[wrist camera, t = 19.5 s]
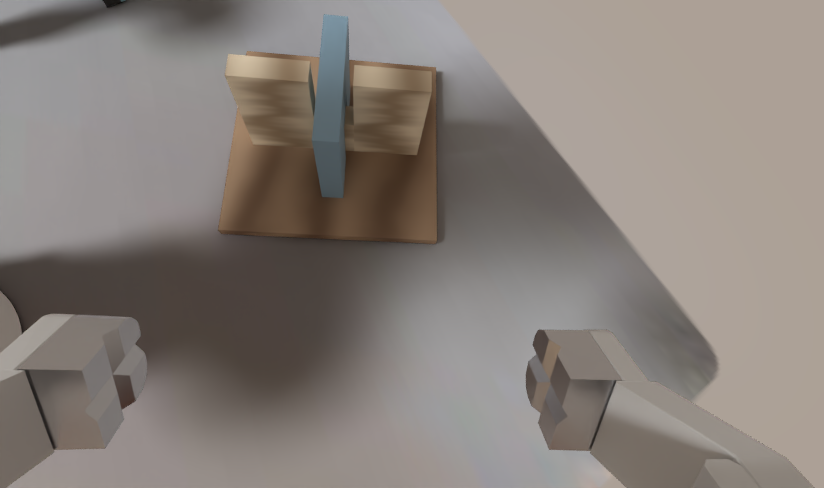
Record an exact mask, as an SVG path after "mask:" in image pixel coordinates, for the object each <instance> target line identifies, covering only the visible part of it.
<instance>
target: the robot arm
mask: <svg viewBox="0 0 824 488" xmlns="http://www.w3.org/2000/svg"><path fill="white" fill-rule="evenodd" d="M140 336H141V332H140V328H139V324H138V321H137V320H135V319H134V318H132V317H118V316H97V315H75V314H49V315H45V316H42V317H41V318H40V319H39V320H38V321H37V322H35V323H34V324H33V325H32V326H31V327H30V328H29V329H27V330H26V331H25V332H24V333H23V334H22V331H21V325H20V321H19V318H18V315H17V313H16V311H15V309H14V307H13V305H12V304H11V302H10V301H9V300H8V298H7V297H6V296H5V295H4V294H3V293H2V292H1V291H0V488H6V487H8V486H9V485H10V484H12V483H13V482H14V481H16V480H17V479H19V478H20V477H21V476H23V475H24V474H25V473H27V472H28V471H29V470H31V469H32V468H34V467H35V466H36V465H38V464H39V463H40V462H42V461H43V460H44V459H46V458H47V457H49V456H50V455H51V454H53V453H54V450H68V449H105V448H106V447H107V445H108V444H109V442H110V441H111V439H112V437H113V436H114V434H115V433H116V431H117V430H118V428H119V427H120V425H121V423H122V422H123V420H124V417H123V413H122V409H124V408H125V407H127V406H129V405H130V404H132V403H133V402H135V401H136V400H137V398H138V396H139V395H140V393H141V391H142V390H143V387H144V383H145V380H146V376H147V360H146V355H145V353H144V352H143V351H142V350H141V349H140V348H139V347H138V346H137V345H136V344H135V343H136V342H137V340H138V339H139V337H140ZM533 347H534V349H535V351H536V355H535V356H534V357H533V358H532V359H531V360H530V361H528V366H527V371H526V390H527V394H528V398H529V401H530V403H531V406H532V407H533V408H535V409H536V410H537V411H538V412H540V413H541V414H540V418H539V422H538V424H539V426H540V428H541V431H542V433H543V436H544V438H545V441H546V443H547V446H548V448H549V450H577V451H591V452H590V453H591V454H592V455H593V456H594V457H595V458H596V459H597V460H598V461H599V462H600V463H601V464H602V465H603V466H604V467H605V468H606V469H607V470H608V471H609V472H611V473H612V474H613V475H614V476H615V477H616V478H617V479H618V480H619V481H620V482H621V483H622V484H623V485H624V486H625V487H627V488H814V487H813V486H812V485H811V484H810V483H809V481H808V480H807V479H806V478H805V477H804V476H803V475H802V474H801V473H800V472H799V471H798V470H797V469H796V467H794V465H793V464H792V463H791V462H790V461H789V460H788V459H787V458H786V457H784V456H783V455H781V454H779V453H777V452H776V451H774V450H772V449H771V448H769V447H767V446H765V445H764V444H762V443H760V442H759V441H757V440H755V439H753V438H752V437H750V436H748V435H747V434H745V433H743V432H742V431H740V430H738V429H736V428H734V427H733V426H731V425H729V424H728V423H726V422H724V421H723V420H721V419H719V418H718V417H716V416H714V415H712V414H711V413H709V412H707V411H706V410H704V409H702V408H701V407H699V406H697V405H695V404H694V403H692V402H690V401H689V400H687V399H685V398H683V397H682V396H680V395H678V394H677V393H675V392H673V391H671V390H670V389H668V388H666V387H665V386H663V385H661V384H660V383H658V382H649V381H648V379H647V378H646V377H645V375H644V374H643V373H642V371H641V370H640V369H639V367H638V366H637V365H636V363H635V362H634V361H633V360H632V358H631V357H630V356H629V354H628V353H627V352H626V350H625V349H624V348H623V346H622V345H621V344H620V342H619V341H618V340H617V338H616V337H615V336H614V334H613V333H612V332H610V331H608V330H538V331H537V333H536V335H535V338H534V341H533Z"/></svg>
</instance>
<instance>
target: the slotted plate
mask: <svg viewBox="0 0 824 488" xmlns="http://www.w3.org/2000/svg"><path fill="white" fill-rule="evenodd" d="M349 104H350V67H349V32H348V17H346V16H335V15H325V14H324V17H323V28H322V38H321V49H320V59H319V70H318V80H317V91H316V101H315V112H314V122H313V133H312V144H313V150H314V155H315V161H316V166H317V172H318V177H319V183H320V188H321V194H322V197H332V198H343V195H344V180H345V165H346V151H345V133H344V123H345V108H346V106H349Z"/></svg>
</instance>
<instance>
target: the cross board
mask: <svg viewBox="0 0 824 488" xmlns="http://www.w3.org/2000/svg"><path fill="white" fill-rule="evenodd" d="M319 59H320V57H309V56H297V55H285V54H274V53H262V52H251V51H247V53H246V56H244V55H232V54H228V60H227V66H226V71H225V77H226V80H227V82H228V84H229V87H230V89H231V92H232V94H233V97H234V99H235V101H236V104H237V106H238V109H237V115H236V121H235V128H234V134H233V140H232V146H231V152H230V159H229V165H228V171H227V177H226V183H225V190H224V196H223V202H222V208H221V215H220V221H219V227H218V231H219V232H220V233H221V234H235V235H256V236H278V237H299V238H320V239H341V240H362V241H383V242H404V243H426V244H436V242H437V165H436V67H425V66H413V65H401V64H390V63H378V62H367V61H355V60H349V67H350V104H349V106H346V108H345V123H344V133H345V151H346V165H345V180H344V195H343V198H332V197H322V194H321V188H320V183H319V177H318V172H317V166H316V161H315V155H314V150H313V144H312V133H313V122H314V112H315V101H316V91H317V80H318V70H319Z"/></svg>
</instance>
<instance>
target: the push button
mask: <svg viewBox="0 0 824 488" xmlns="http://www.w3.org/2000/svg"><path fill="white" fill-rule="evenodd" d="M103 1H104V3H105V5H106V6H107V7H110V6H112V5H115V4H118V3H120V2H123V1H125V0H103Z"/></svg>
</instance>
